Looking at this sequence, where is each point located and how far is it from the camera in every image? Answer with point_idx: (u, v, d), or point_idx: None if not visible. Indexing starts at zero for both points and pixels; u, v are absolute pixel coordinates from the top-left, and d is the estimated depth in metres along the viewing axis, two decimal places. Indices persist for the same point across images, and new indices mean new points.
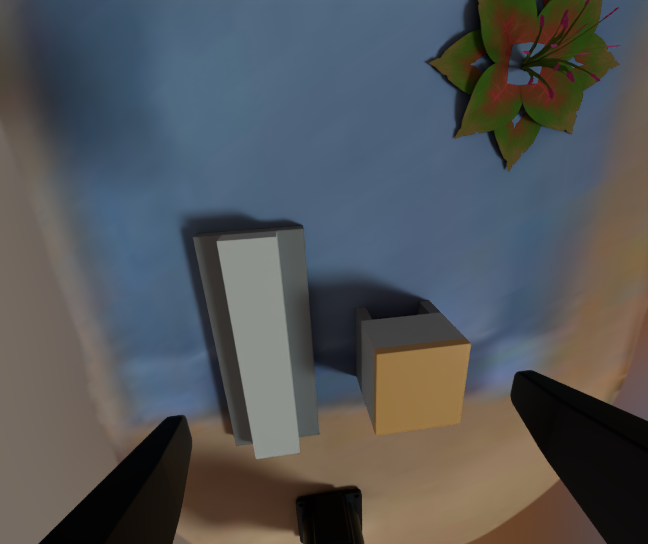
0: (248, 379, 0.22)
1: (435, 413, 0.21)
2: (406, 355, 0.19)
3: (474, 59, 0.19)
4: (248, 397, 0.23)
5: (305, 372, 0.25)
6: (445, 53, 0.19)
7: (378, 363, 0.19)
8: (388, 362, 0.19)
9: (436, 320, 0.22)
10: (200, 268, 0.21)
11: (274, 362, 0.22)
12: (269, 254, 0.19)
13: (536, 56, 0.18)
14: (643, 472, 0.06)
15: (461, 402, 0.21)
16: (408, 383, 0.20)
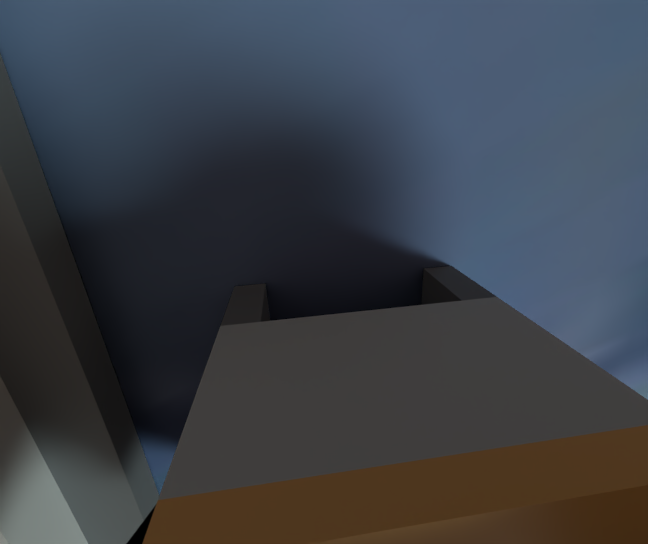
0: None
1: None
2: None
3: None
4: None
5: (96, 472, 0.09)
6: None
7: None
8: None
9: (490, 324, 0.06)
10: None
11: None
12: None
13: None
14: None
15: None
16: None
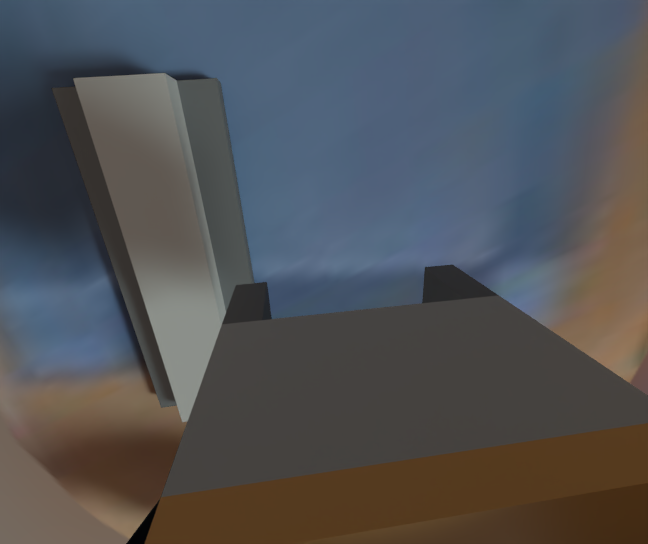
0: (155, 306, 0.16)
1: None
2: None
3: None
4: (159, 333, 0.17)
5: None
6: None
7: None
8: None
9: (492, 322, 0.06)
10: (71, 140, 0.14)
11: (189, 280, 0.16)
12: (158, 103, 0.13)
13: None
14: None
15: None
16: None
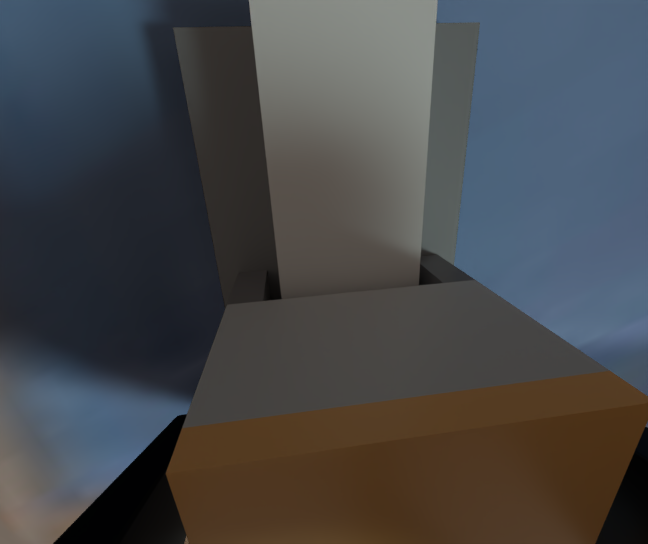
0: None
1: None
2: (335, 468, 0.04)
3: None
4: None
5: None
6: None
7: (188, 511, 0.04)
8: (243, 502, 0.04)
9: (466, 301, 0.07)
10: (195, 133, 0.08)
11: None
12: (409, 62, 0.06)
13: None
14: (631, 474, 0.06)
15: None
16: None
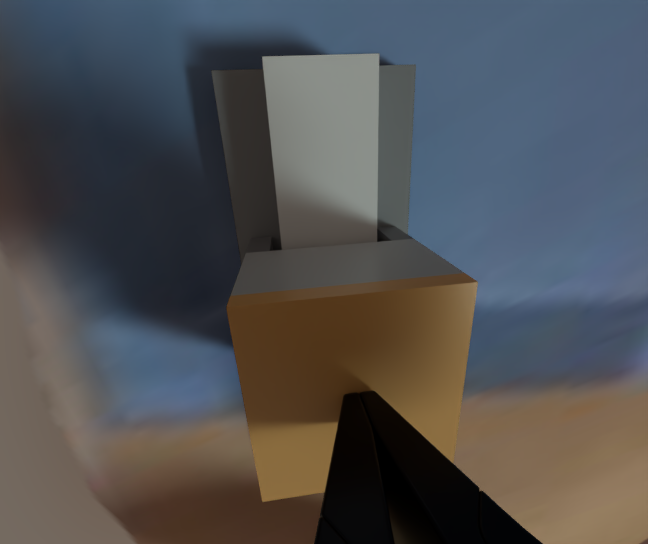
0: None
1: None
2: (309, 311, 0.07)
3: None
4: None
5: None
6: None
7: (235, 332, 0.07)
8: (262, 328, 0.07)
9: (401, 248, 0.10)
10: (224, 139, 0.11)
11: None
12: (363, 94, 0.10)
13: None
14: (412, 511, 0.05)
15: (455, 427, 0.09)
16: (324, 384, 0.08)
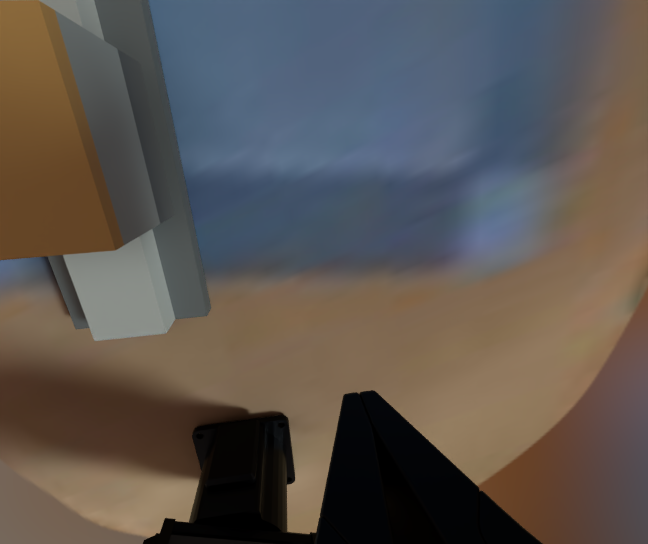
0: None
1: (39, 216, 0.10)
2: None
3: None
4: None
5: None
6: None
7: None
8: None
9: None
10: None
11: None
12: None
13: None
14: (413, 511, 0.05)
15: (93, 190, 0.09)
16: None
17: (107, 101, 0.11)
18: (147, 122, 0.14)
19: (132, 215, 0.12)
